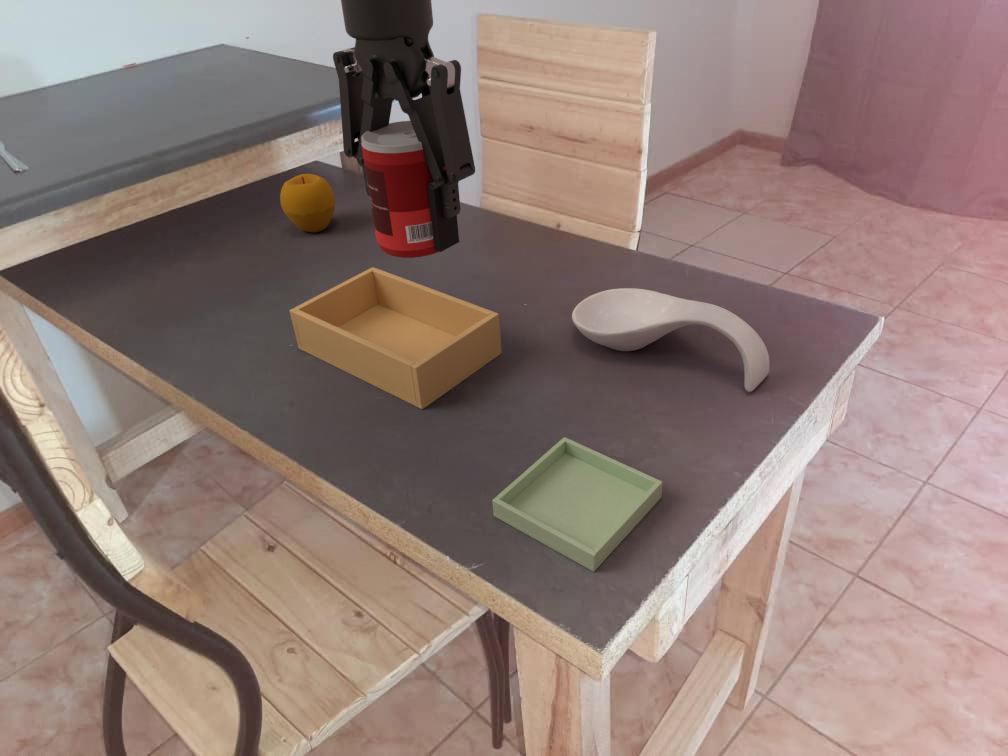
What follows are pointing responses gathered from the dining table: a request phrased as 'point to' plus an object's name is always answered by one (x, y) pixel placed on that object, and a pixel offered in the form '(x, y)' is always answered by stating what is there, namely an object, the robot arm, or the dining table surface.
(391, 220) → the canned food
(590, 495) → the tray
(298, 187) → the apple
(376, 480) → the dining table surface
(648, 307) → the spoon rest
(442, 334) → the open wooden box
